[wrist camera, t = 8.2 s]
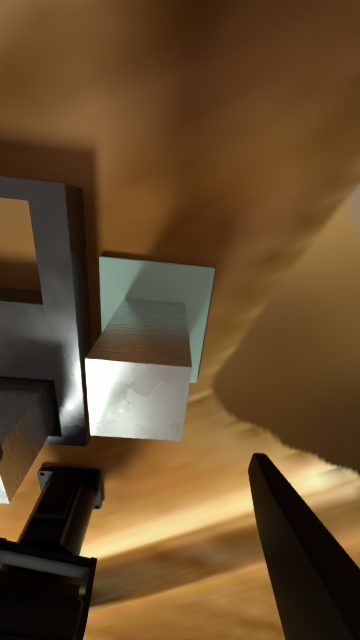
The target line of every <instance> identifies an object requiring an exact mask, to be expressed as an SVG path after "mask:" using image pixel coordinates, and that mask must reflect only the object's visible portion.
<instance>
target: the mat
mask: <svg viewBox="0 0 360 640" xmlns="http://www.w3.org/2000/svg"><path fill="white" fill-rule="evenodd" d="M99 272H100V298H101V325H102V332H103V330H104V329H105V327H106V326H107V324H108V322H109V321H110V319H111V318H112V316H113V315H114V313H115V312H116V310H117V308H118V307H119V305H120V304H121V302H122V301H123V299H124V298H135V299H145V300H156V301H166V302H177V303H186V311H187V321H188V331H189V341H190V350H191V360H192V372H191V379H190V383H196V382H197V376H198V370H199V364H200V358H201V352H202V346H203V340H204V334H205V328H206V322H207V315H208V309H209V303H210V297H211V291H212V285H213V279H214V273H215V268H213V267H204V266H194V265H184V264H174V263H165V262H155V261H145V260H135V259H125V258H116V257H106V256H100V257H99Z"/></svg>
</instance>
